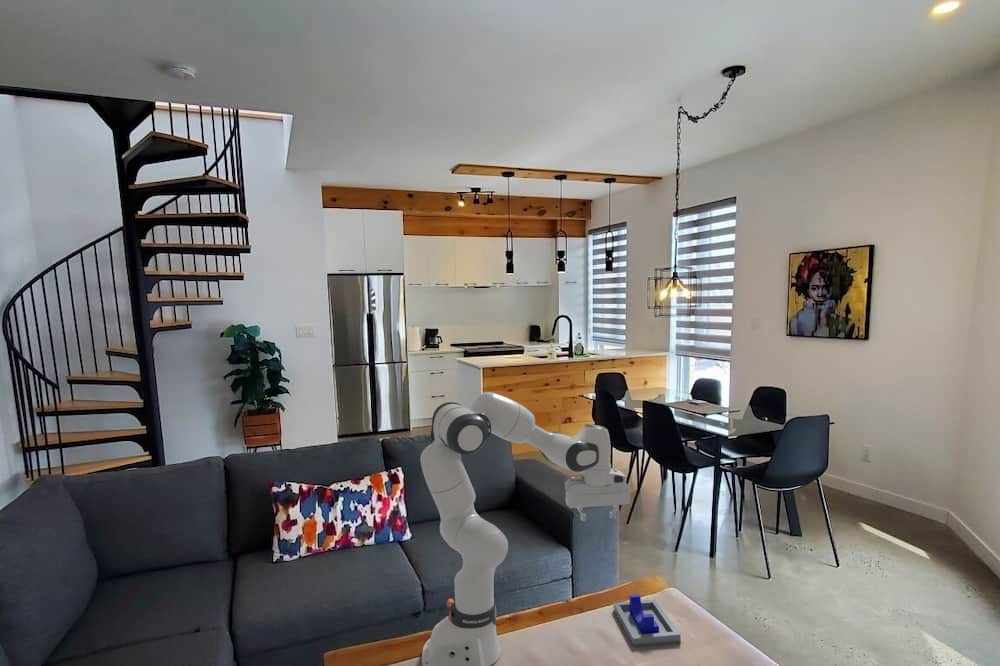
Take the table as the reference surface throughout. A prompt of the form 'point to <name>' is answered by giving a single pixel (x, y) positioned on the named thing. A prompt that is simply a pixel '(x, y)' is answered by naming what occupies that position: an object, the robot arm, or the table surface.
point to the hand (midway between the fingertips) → (598, 519)
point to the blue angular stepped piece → (642, 616)
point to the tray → (666, 627)
